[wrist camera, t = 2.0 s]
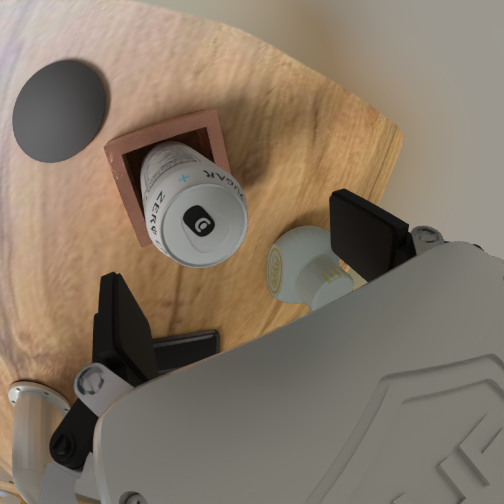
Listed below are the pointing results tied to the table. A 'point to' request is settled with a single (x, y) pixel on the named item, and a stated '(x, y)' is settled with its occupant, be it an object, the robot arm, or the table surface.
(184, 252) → the energy drink can
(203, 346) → the phone
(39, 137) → the mat
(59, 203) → the table surface
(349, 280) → the air freshener
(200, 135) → the collar
